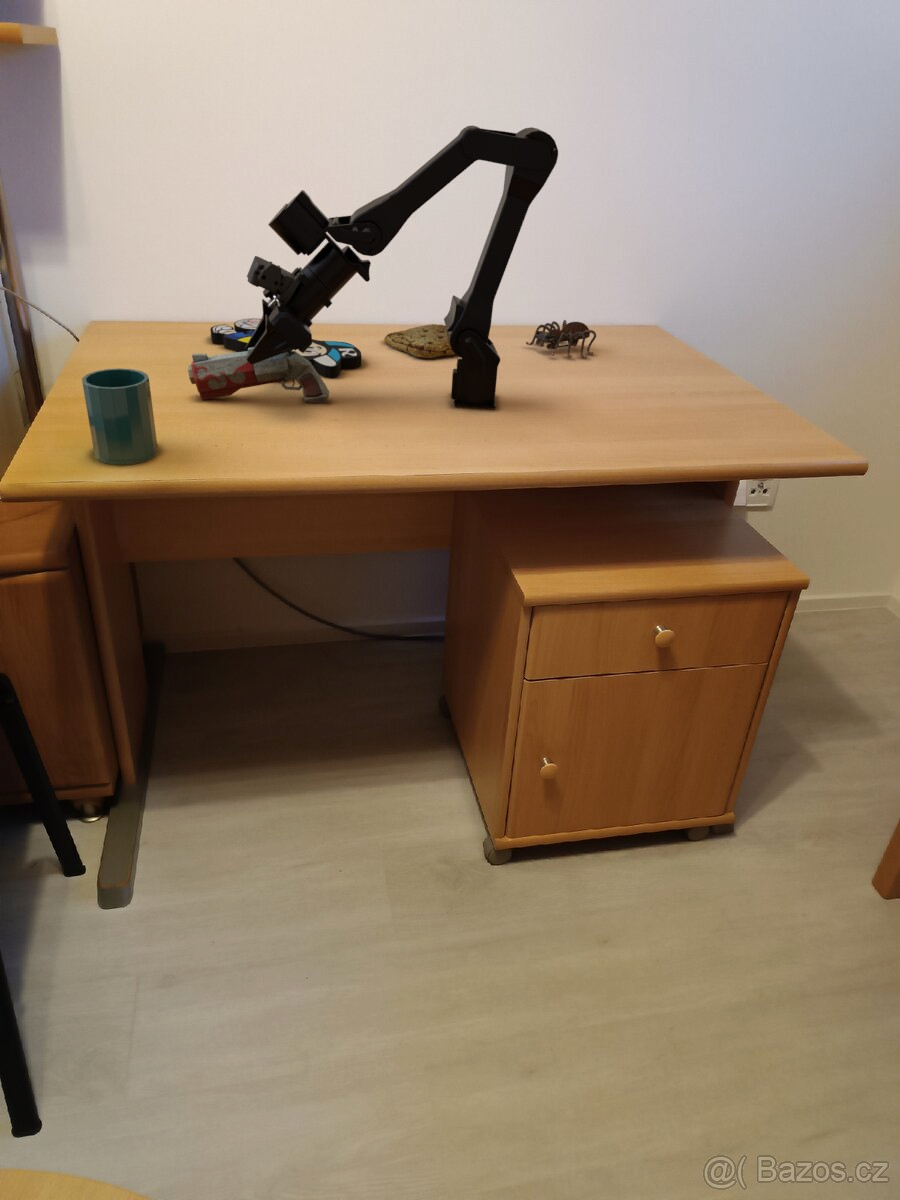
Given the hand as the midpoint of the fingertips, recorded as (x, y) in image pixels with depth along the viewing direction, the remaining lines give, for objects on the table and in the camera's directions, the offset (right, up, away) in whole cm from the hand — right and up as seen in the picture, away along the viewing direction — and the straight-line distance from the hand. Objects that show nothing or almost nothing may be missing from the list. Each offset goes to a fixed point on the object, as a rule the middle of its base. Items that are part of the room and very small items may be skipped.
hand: (248, 356), depth 131 cm
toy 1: (0, +7, +24) cm, 25 cm away
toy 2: (+51, +11, +36) cm, 64 cm away
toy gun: (+1, -6, +4) cm, 7 cm away
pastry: (+26, +11, +33) cm, 44 cm away
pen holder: (-12, -17, -16) cm, 26 cm away
